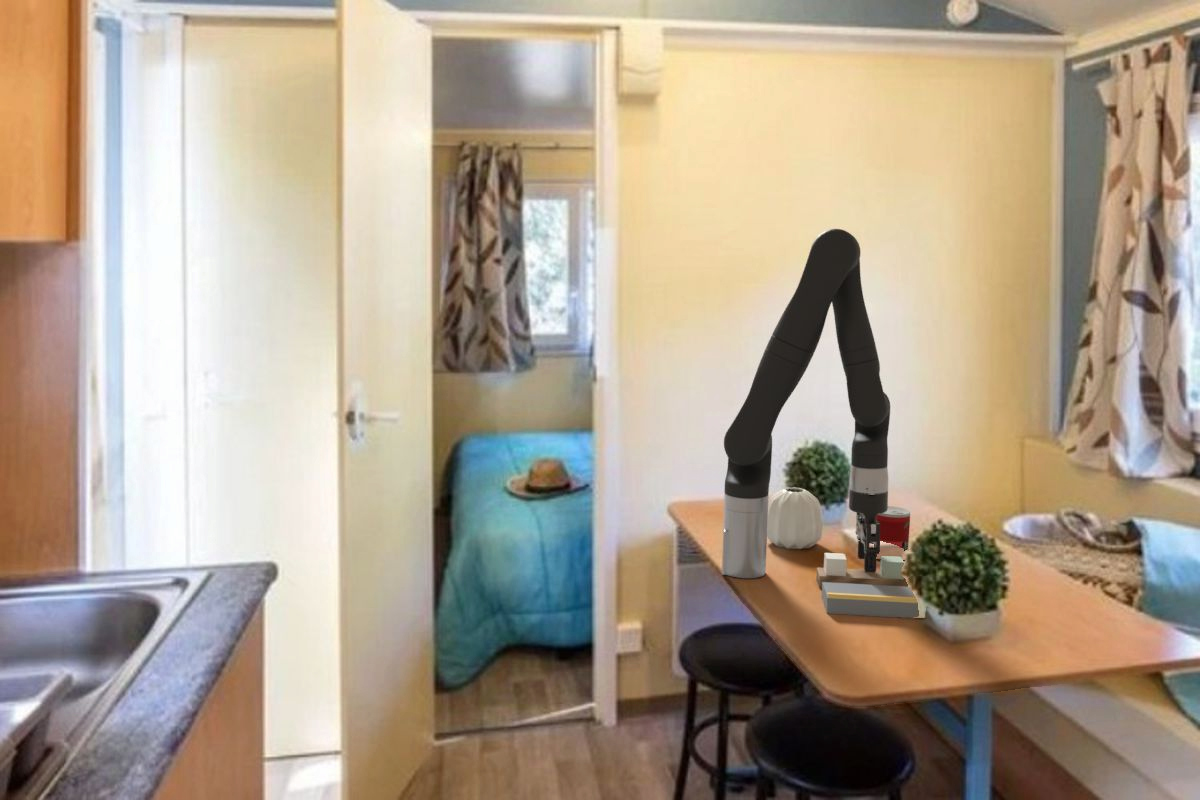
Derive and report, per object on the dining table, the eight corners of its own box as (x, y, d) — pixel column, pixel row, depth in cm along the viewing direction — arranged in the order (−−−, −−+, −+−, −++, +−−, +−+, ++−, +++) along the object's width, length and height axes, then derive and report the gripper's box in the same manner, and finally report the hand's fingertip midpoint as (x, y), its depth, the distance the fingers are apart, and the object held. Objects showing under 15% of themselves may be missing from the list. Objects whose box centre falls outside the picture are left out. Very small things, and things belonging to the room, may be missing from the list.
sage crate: (883, 578, 181) (884, 561, 180) (879, 571, 185) (880, 555, 184) (903, 579, 180) (904, 562, 180) (899, 572, 184) (900, 556, 184)
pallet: (819, 590, 182) (819, 576, 182) (816, 581, 187) (816, 567, 187) (910, 595, 180) (911, 581, 179) (905, 586, 185) (905, 572, 185)
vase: (751, 540, 215) (753, 486, 213) (798, 534, 221) (800, 481, 219) (786, 556, 202) (788, 499, 201) (835, 549, 208) (837, 493, 206)
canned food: (909, 563, 198) (912, 515, 197) (872, 561, 200) (875, 513, 198) (905, 553, 206) (908, 507, 204) (869, 551, 207) (871, 505, 206)
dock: (826, 613, 168) (827, 593, 168) (821, 596, 177) (822, 578, 177) (925, 619, 166) (927, 599, 166) (915, 601, 175) (916, 583, 174)
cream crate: (825, 575, 182) (826, 558, 182) (823, 568, 186) (824, 552, 186) (846, 576, 182) (846, 559, 181) (843, 569, 186) (844, 553, 185)
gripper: (844, 479, 188) (843, 554, 190) (854, 495, 174) (852, 575, 176) (881, 480, 187) (879, 555, 189) (894, 496, 173) (892, 577, 175)
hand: (866, 565), depth 183 cm, fingers open, 8 cm apart
